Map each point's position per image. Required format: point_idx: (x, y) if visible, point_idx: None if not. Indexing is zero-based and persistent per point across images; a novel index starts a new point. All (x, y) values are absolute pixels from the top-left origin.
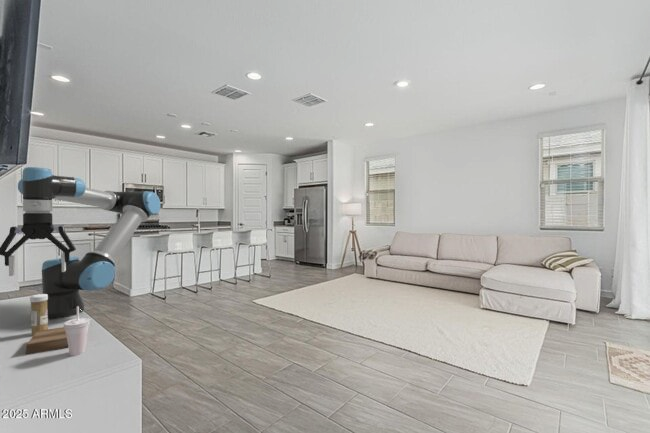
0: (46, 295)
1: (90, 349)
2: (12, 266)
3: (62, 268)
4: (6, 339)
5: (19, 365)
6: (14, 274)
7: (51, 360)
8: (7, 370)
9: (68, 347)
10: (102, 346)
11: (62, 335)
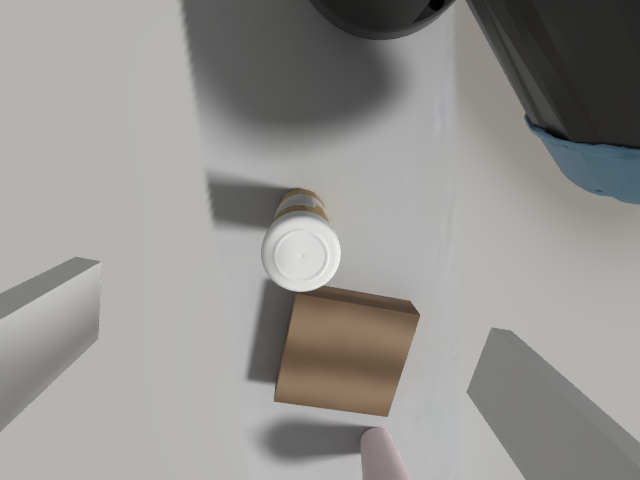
0: (334, 273)
1: (402, 436)
2: (20, 393)
3: (492, 420)
4: (212, 208)
5: (267, 437)
6: (100, 275)
7: (325, 448)
8: (248, 449)
9: (361, 460)
10: (428, 434)
11: (357, 385)
